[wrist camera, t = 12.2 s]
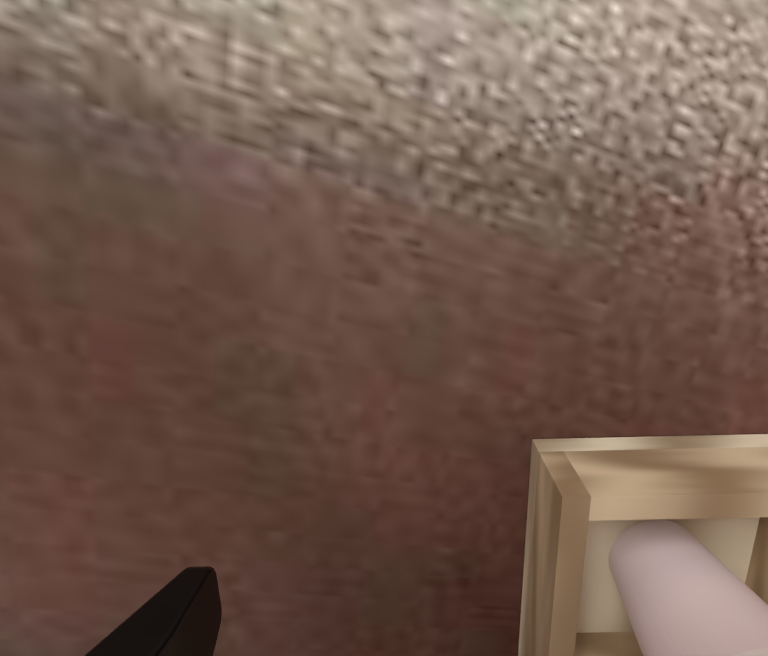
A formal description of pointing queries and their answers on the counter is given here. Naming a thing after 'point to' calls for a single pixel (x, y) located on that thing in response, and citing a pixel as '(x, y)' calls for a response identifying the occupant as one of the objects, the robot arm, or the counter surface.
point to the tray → (621, 511)
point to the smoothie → (684, 595)
